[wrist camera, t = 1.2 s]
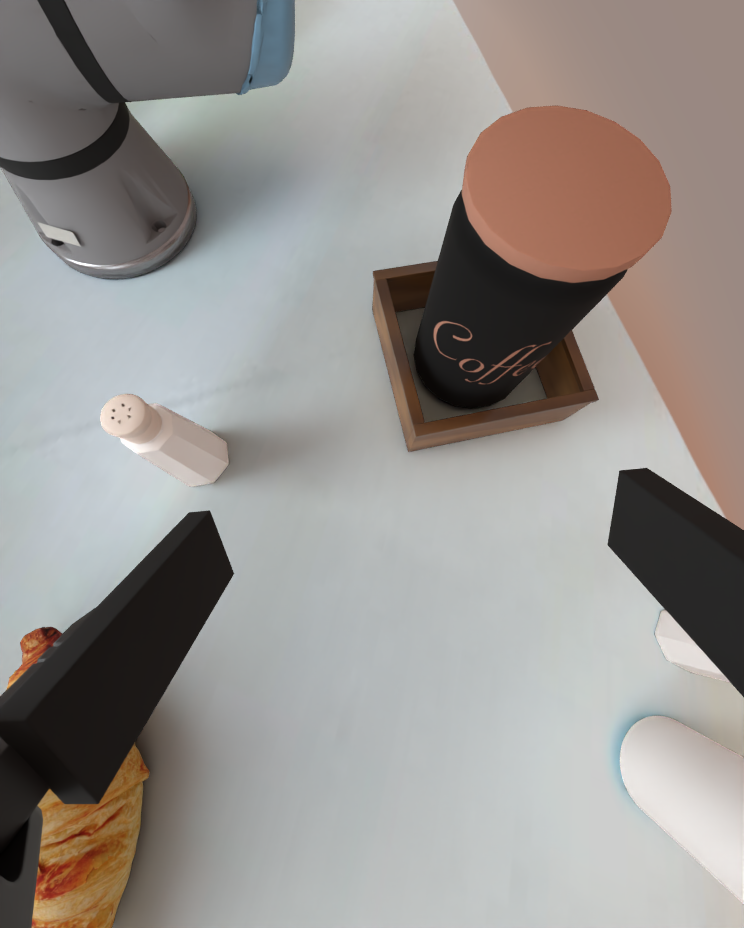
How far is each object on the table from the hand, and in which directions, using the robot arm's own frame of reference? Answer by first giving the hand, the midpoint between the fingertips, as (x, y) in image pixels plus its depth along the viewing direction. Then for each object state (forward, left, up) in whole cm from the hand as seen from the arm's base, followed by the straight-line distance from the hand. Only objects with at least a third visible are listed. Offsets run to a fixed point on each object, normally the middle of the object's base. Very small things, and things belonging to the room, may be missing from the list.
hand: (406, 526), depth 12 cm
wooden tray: (-15, +12, -20) cm, 28 cm away
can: (+22, +18, -20) cm, 34 cm away
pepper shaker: (-10, -14, -20) cm, 27 cm away
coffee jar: (-15, +12, -20) cm, 28 cm away
